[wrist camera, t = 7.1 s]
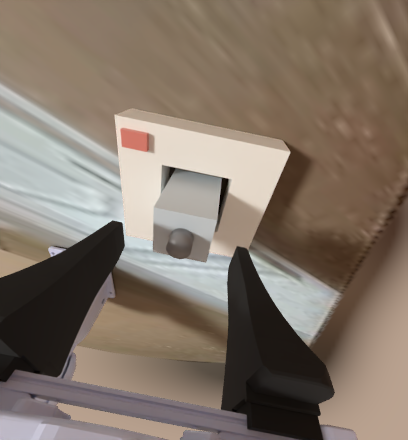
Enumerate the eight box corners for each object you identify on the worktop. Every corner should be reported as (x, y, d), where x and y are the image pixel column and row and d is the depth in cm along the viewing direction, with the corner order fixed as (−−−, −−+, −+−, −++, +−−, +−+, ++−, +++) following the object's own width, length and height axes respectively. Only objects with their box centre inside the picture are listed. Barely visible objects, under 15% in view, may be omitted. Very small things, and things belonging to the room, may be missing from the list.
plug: (213, 209, 20) (204, 275, 14) (174, 201, 20) (147, 264, 14) (222, 173, 18) (215, 233, 11) (178, 164, 18) (147, 218, 11)
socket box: (242, 240, 22) (243, 262, 20) (136, 218, 22) (124, 238, 20) (282, 140, 16) (291, 153, 13) (131, 108, 16) (111, 115, 13)
